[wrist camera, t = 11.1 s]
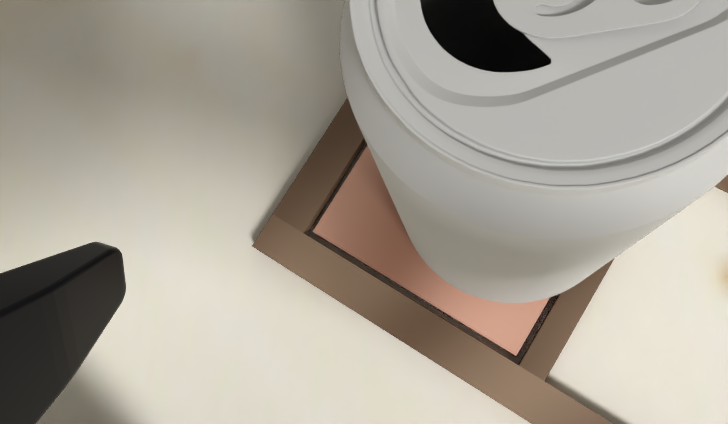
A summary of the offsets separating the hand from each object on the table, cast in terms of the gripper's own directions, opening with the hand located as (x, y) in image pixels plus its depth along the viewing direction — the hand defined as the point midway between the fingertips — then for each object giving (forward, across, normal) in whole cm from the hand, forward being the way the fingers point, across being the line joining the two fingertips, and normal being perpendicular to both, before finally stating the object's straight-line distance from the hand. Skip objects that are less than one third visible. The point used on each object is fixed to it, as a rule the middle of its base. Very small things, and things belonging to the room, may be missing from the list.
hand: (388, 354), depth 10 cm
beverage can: (+11, -1, +3) cm, 11 cm away
